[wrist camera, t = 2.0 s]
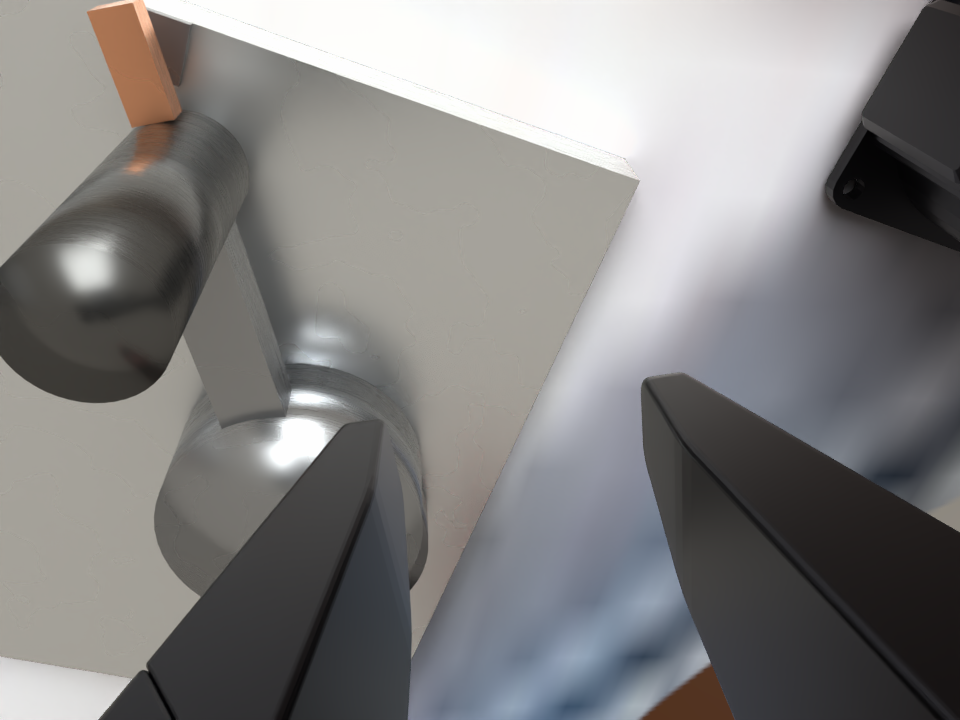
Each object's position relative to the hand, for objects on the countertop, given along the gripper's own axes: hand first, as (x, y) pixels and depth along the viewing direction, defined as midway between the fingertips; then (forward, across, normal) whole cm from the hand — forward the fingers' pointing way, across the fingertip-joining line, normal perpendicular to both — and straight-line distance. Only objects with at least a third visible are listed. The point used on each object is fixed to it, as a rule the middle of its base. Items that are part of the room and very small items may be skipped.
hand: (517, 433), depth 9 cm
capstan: (+10, +5, +4) cm, 12 cm away
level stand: (+12, +9, +6) cm, 16 cm away
